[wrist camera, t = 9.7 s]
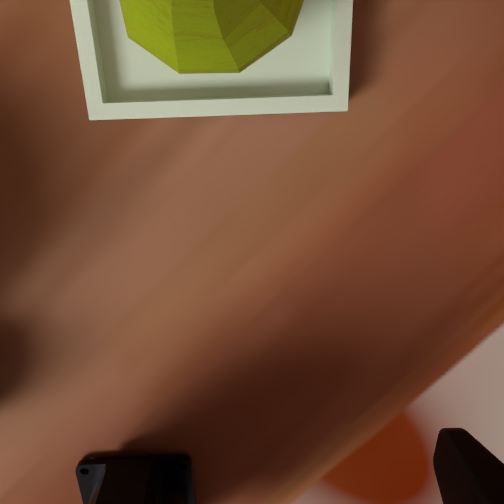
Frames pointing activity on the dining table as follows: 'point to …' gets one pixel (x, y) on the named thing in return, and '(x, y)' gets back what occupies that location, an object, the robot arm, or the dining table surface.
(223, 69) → the fruit
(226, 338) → the dining table surface
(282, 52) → the tray
